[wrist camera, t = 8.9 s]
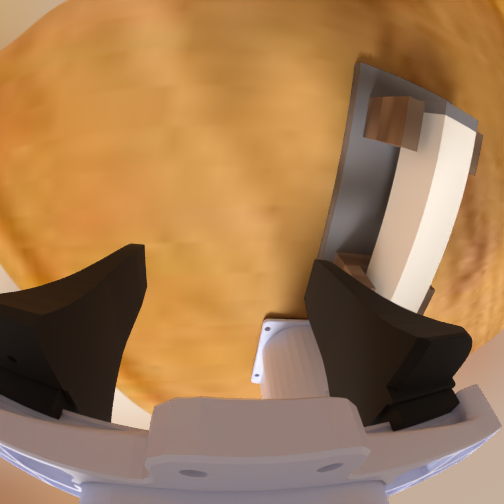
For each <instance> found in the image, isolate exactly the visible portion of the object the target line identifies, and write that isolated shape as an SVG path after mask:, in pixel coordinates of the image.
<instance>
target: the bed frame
mask: <svg viewBox="0 0 504 504" xmlns="http://www.w3.org/2000/svg"><path fill="white" fill-rule="evenodd" d="M421 101H442V102H448V103H450V104H452V103H451V102H449V101H447V100H445V99H444V98H442V97H440V96H438V95H436V94H434V93H432V92H430V91H428V90H426V89H424V88H422V87H420V86H418V85H416V84H414V83H412V82H410V81H407V80H405V79H403V78H401V77H398V76H396V75H393V74H391V73H389V72H386V71H383V70H381V69H378V68H376V67H373V66H370V65H367V64H365V63H362V62H360V63H357V64H355V69H354V77H353V84H352V91H351V98H350V105H349V111H348V117H347V123H346V129H345V135H344V140H343V146H342V151H341V157H340V162H339V167H338V172H337V177H336V181H335V186H334V191H333V195H332V200H331V204H330V209H329V213H328V217H327V222H326V226H325V230H324V234H323V238H322V242H321V246H320V250H319V254H318V258H317V260H328V261H330V262H332V263H334V264H335V265H337V266H338V267H340V268H341V269H343V270H344V271H345V272H347V273H348V274H350V275H351V276H352V277H354V278H355V279H357V280H358V281H359V282H361V283H362V284H364V285H365V286H367V287H368V288H370V289H371V290H373V291H374V292H375V289H376V288H375V287H374V285H373V284H372V282H371V281H370V280H369V278H368V277H367V276H366V272H367V269H368V266H369V263H370V260H371V257H372V254H373V251H374V248H375V245H376V242H377V239H378V235H379V232H380V229H381V226H382V222H383V219H384V215H385V212H386V208H387V204H388V201H389V197H390V193H391V189H392V185H393V181H394V177H395V172H396V168H397V163H398V159H399V154H400V149H401V147H402V148H405V149H409V150H412V151H416V152H417V149H418V144H419V139H420V133H421V127H422V121H423V115H424V108H425V103H423V102H421ZM482 138H483V135H482V134H480V133H479V132H477V133H476V137H475V143H474V148H473V154H472V159H471V164H470V168H469V174H472V175H474V176H475V174H476V169H477V165H478V160H479V155H480V150H481V144H482ZM434 291H435V289H434V288H433V287H432V286H431V285H430V287H429V289H428V291H427V293H426V295H425V298H424V300H423V302H422V304H421V306H420V308H419V310H418V312H417V314H420V315H423V314H424V312H425V310H426V308H427V306H428V304H429V302H430V300H431V298H432V296H433V294H434Z"/></svg>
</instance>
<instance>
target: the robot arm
mask: <svg viewBox="0 0 504 504" xmlns="http://www.w3.org/2000/svg"><path fill="white" fill-rule="evenodd" d="M146 288H147V279H146V265H145V246H144V245H142V244H129V245H126V246H124V247H123V248H121V249H119V250H117V251H115V252H114V253H112V254H110V255H109V256H107V257H105V258H103V259H102V260H100V261H98V262H96V263H94V264H92V265H90V266H89V267H87V268H85V269H83V270H81V271H79V272H77V273H75V274H72V275H70V276H67V277H65V278H63V279H60V280H57V281H54V282H51V283H48V284H45V285H42V286H38V287H34V288H31V289H26V290H21V291H16V292H9V293H2V294H0V457H2V458H3V459H5V460H6V461H8V462H10V463H11V464H13V465H15V466H16V467H18V468H20V469H21V470H23V471H25V472H27V473H28V474H30V475H32V476H34V477H36V478H38V479H40V480H42V481H44V482H46V483H48V484H50V485H52V486H54V487H56V488H58V489H61V490H63V491H65V492H68V493H70V494H72V495H75V496H77V497H80V501H79V504H389V502H388V499H387V498H388V497H389V496H390V495H393V494H395V493H398V492H400V491H402V490H405V489H407V488H409V487H411V486H414V485H416V484H418V483H420V482H422V481H424V480H426V479H428V478H430V477H432V476H434V475H436V474H438V473H440V472H441V471H444V470H445V469H447V468H449V467H451V466H453V465H455V464H456V463H458V462H460V461H461V460H463V459H464V458H466V457H467V456H468V455H470V454H471V453H472V452H474V451H475V450H476V449H477V448H479V447H480V446H481V445H482V444H484V443H485V442H486V441H487V440H488V439H490V438H491V437H492V436H493V435H494V434H495V433H496V432H497V431H499V429H501V427H502V425H501V423H500V422H499V420H498V418H497V416H496V414H495V413H494V411H493V409H492V408H491V406H490V404H489V402H488V401H487V399H486V397H485V396H484V394H483V393H482V391H481V389H480V388H479V386H478V385H477V384H475V385H472V386H469V387H467V388H464V389H462V390H460V391H459V392H457V393H456V394H455V393H454V391H453V390H452V388H453V387H454V386H455V382H454V380H453V378H452V377H453V376H454V375H455V373H456V372H457V371H458V369H459V368H460V367H461V365H462V364H463V363H464V361H465V360H466V358H467V357H468V355H469V353H470V351H471V348H472V338H471V336H470V335H469V334H468V333H467V331H466V330H465V329H464V328H463V327H461V326H457V325H453V324H449V323H445V322H441V321H437V320H434V319H431V318H428V317H425V316H423V315H420V314H417V313H415V312H413V311H410V310H408V309H406V308H403V307H401V306H399V305H397V304H395V303H393V302H392V301H390V300H388V299H386V298H384V297H383V296H381V295H379V294H378V293H376V292H374V291H373V290H371V289H370V288H368V287H367V286H365V285H364V284H362V283H361V282H359V281H358V280H357V279H355V278H354V277H352V276H351V275H350V274H348V273H347V272H345V271H344V270H343V269H341V268H340V267H338V266H337V265H335V264H334V263H332V262H330V261H328V260H317V259H315V260H314V264H313V268H312V272H311V275H310V279H309V283H308V286H307V290H306V294H305V297H304V300H305V305H306V311H307V316H308V319H309V320H297V319H265V320H264V321H263V324H262V329H261V334H260V339H259V343H258V348H257V353H256V357H255V362H254V367H253V371H252V376H251V382H253V383H260V386H261V394H262V399H241V398H218V397H203V396H200V397H176V398H174V399H171V400H169V401H167V402H164V403H162V404H160V405H157V406H155V407H154V410H153V414H152V417H151V423H150V429H149V430H143V429H138V428H132V427H128V426H123V425H118V424H114V423H111V416H112V407H113V400H114V393H115V387H116V382H117V377H118V372H119V367H120V363H121V359H122V355H123V351H124V348H125V345H126V342H127V340H128V337H129V335H130V333H131V330H132V328H133V325H134V323H135V320H136V318H137V316H138V313H139V311H140V308H141V306H142V303H143V299H144V296H145V292H146ZM266 327H270V328H266Z"/></svg>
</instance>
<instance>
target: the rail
mask: <svg viewBox="0 0 504 504" xmlns="http://www.w3.org/2000/svg"><path fill="white" fill-rule="evenodd" d="M421 102H423V103H425V108H424V115H423V121H422V127H421V133H420V139H419V144H418V149H417V152H416V151H412V150H409V149H405V148H402V147H401V149H400V154H399V159H398V163H397V168H396V172H395V177H394V181H393V185H392V189H391V193H390V197H389V201H388V204H387V208H386V212H385V215H384V219H383V222H382V226H381V229H380V232H379V235H378V239H377V242H376V245H375V248H374V251H373V254H372V257H371V260H370V263H369V266H368V269H367V272H366V276H367V277H368V278H369V280H370V281H371V282H372V284H373V285H374V287H375V288H376V289H375V292H376V293H378V294H379V295H381V296H383V297H384V298H386V299H388V300H390V301H392V302H393V303H395V304H397V305H399V306H401V307H403V308H406V309H408V310H410V311H413V312H415V313H417V312H418V310H419V308H420V306H421V304H422V302H423V300H424V298H425V295H426V293H427V291H428V289H429V287H430V285H431V282H432V280H433V278H434V276H435V273H436V271H437V268H438V266H439V264H440V261H441V259H442V256H443V254H444V251H445V248H446V246H447V243H448V240H449V237H450V235H451V232H452V229H453V226H454V223H455V220H456V217H457V213H458V210H459V207H460V203H461V200H462V196H463V193H464V189H465V185H466V181H467V177H468V173H469V168H470V164H471V159H472V154H473V148H474V143H475V137H476V133H477V126H478V120H476V119H475V118H473V117H472V116H470V115H468V114H467V113H465V112H464V111H462V110H460V109H459V108H457V107H455V106H453V105H452V104H450V103H448V102H442V101H421Z"/></svg>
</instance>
